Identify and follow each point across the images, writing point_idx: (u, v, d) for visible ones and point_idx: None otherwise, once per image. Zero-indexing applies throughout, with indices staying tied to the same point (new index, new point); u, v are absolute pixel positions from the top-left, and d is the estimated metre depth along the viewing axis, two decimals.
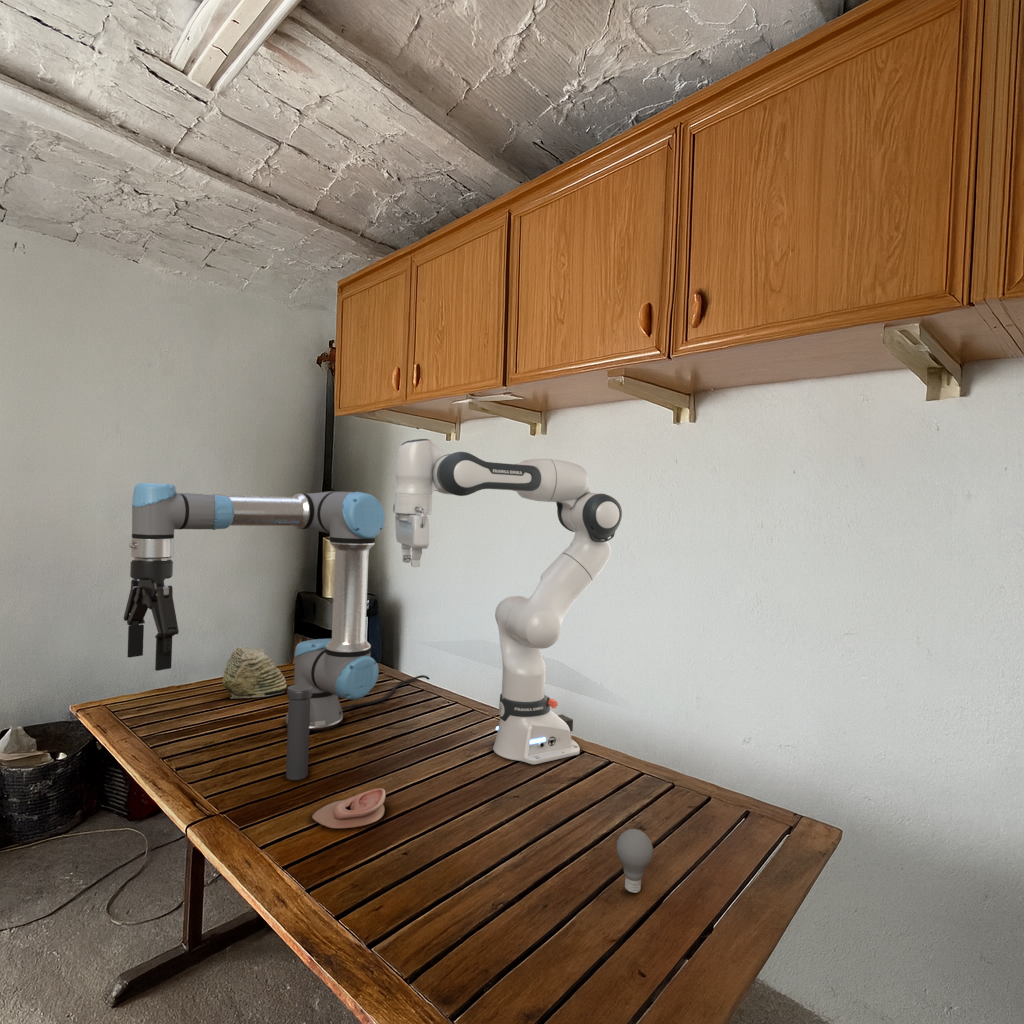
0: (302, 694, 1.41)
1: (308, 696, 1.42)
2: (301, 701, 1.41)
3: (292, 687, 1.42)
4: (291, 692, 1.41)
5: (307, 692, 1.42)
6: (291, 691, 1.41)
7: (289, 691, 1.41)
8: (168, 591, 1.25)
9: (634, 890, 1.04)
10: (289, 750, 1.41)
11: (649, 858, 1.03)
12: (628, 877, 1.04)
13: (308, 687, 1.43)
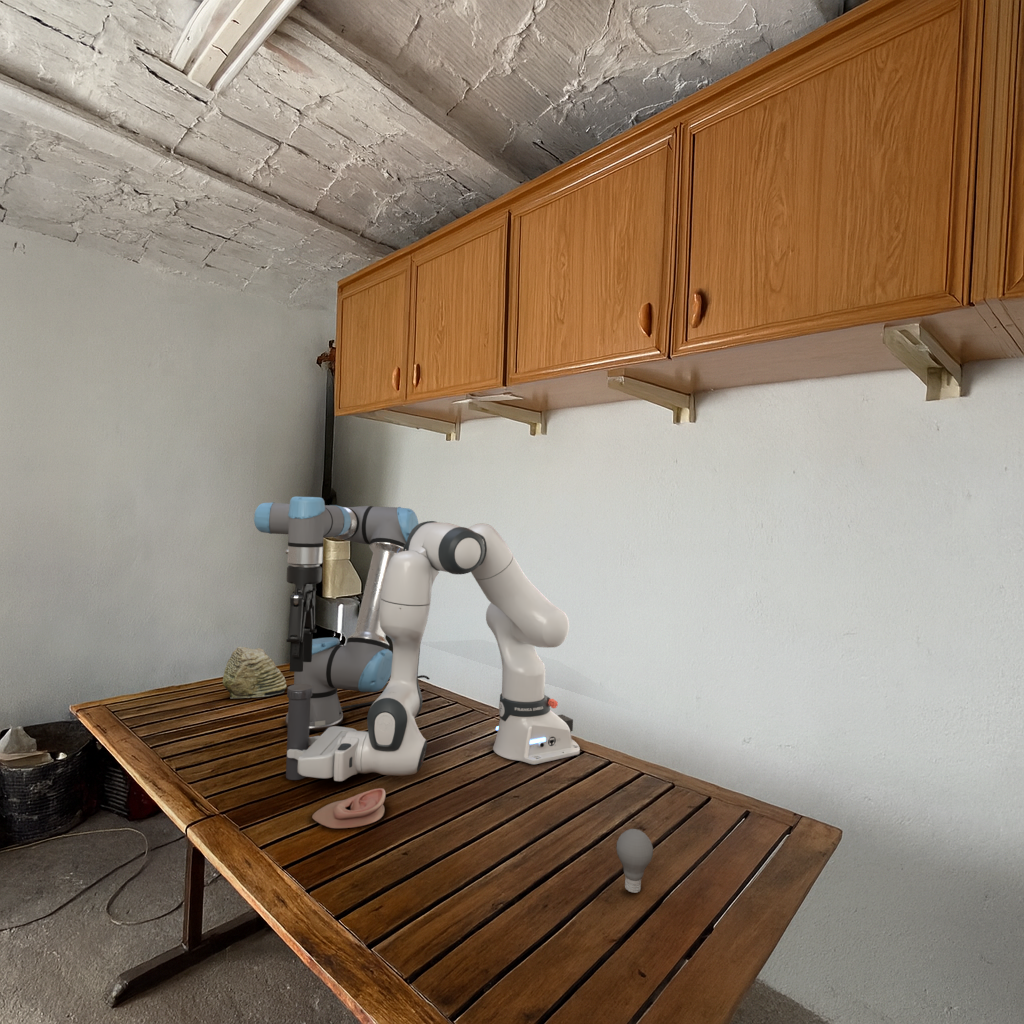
0: (302, 694, 1.41)
1: (308, 696, 1.42)
2: (301, 701, 1.41)
3: (292, 687, 1.42)
4: (291, 692, 1.41)
5: (307, 692, 1.42)
6: (291, 691, 1.41)
7: (289, 691, 1.41)
8: (298, 601, 1.36)
9: (634, 890, 1.04)
10: None
11: (649, 858, 1.03)
12: (628, 877, 1.04)
13: (308, 687, 1.43)
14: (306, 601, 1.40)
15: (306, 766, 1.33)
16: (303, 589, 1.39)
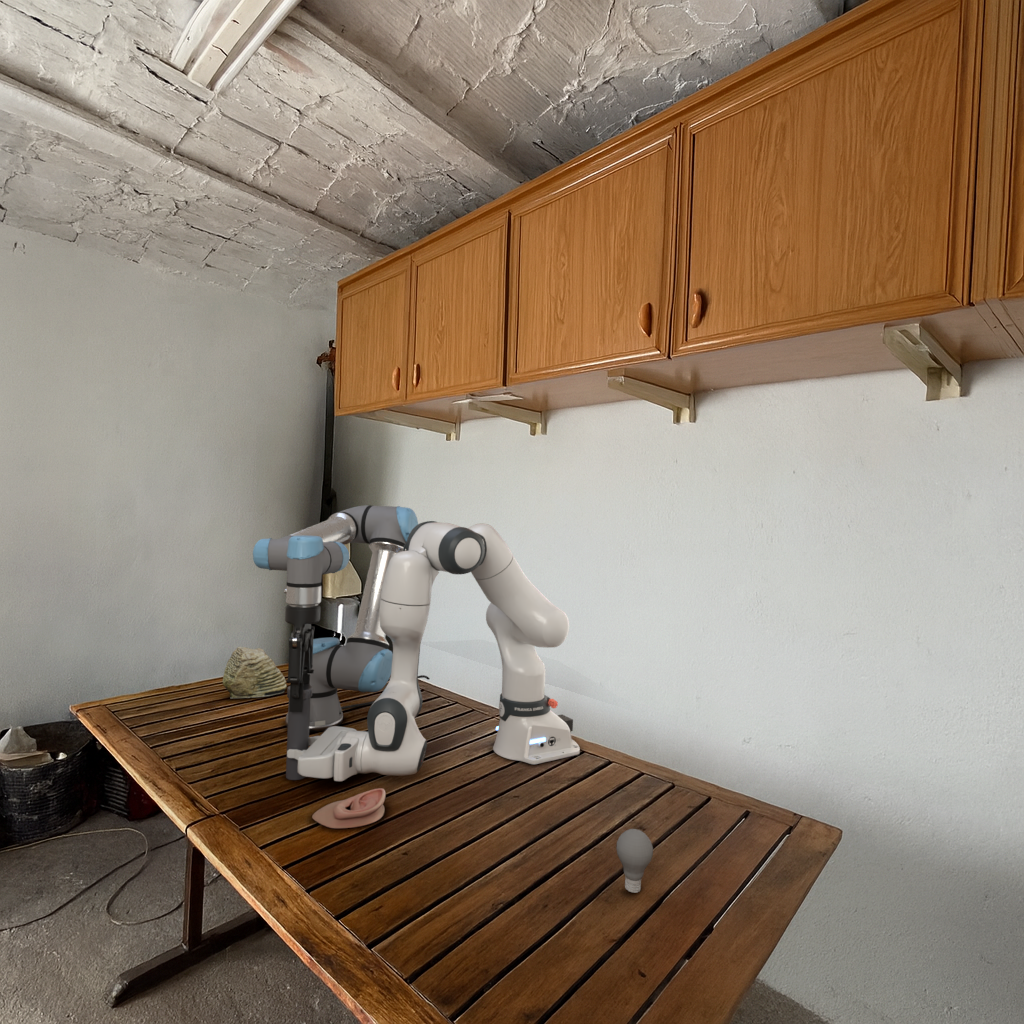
0: None
1: (308, 696, 1.42)
2: None
3: None
4: None
5: (307, 692, 1.42)
6: None
7: (289, 691, 1.41)
8: (296, 644, 1.36)
9: (634, 890, 1.04)
10: None
11: (649, 858, 1.03)
12: (628, 877, 1.04)
13: (308, 687, 1.43)
14: (305, 641, 1.40)
15: (306, 766, 1.33)
16: (301, 629, 1.39)
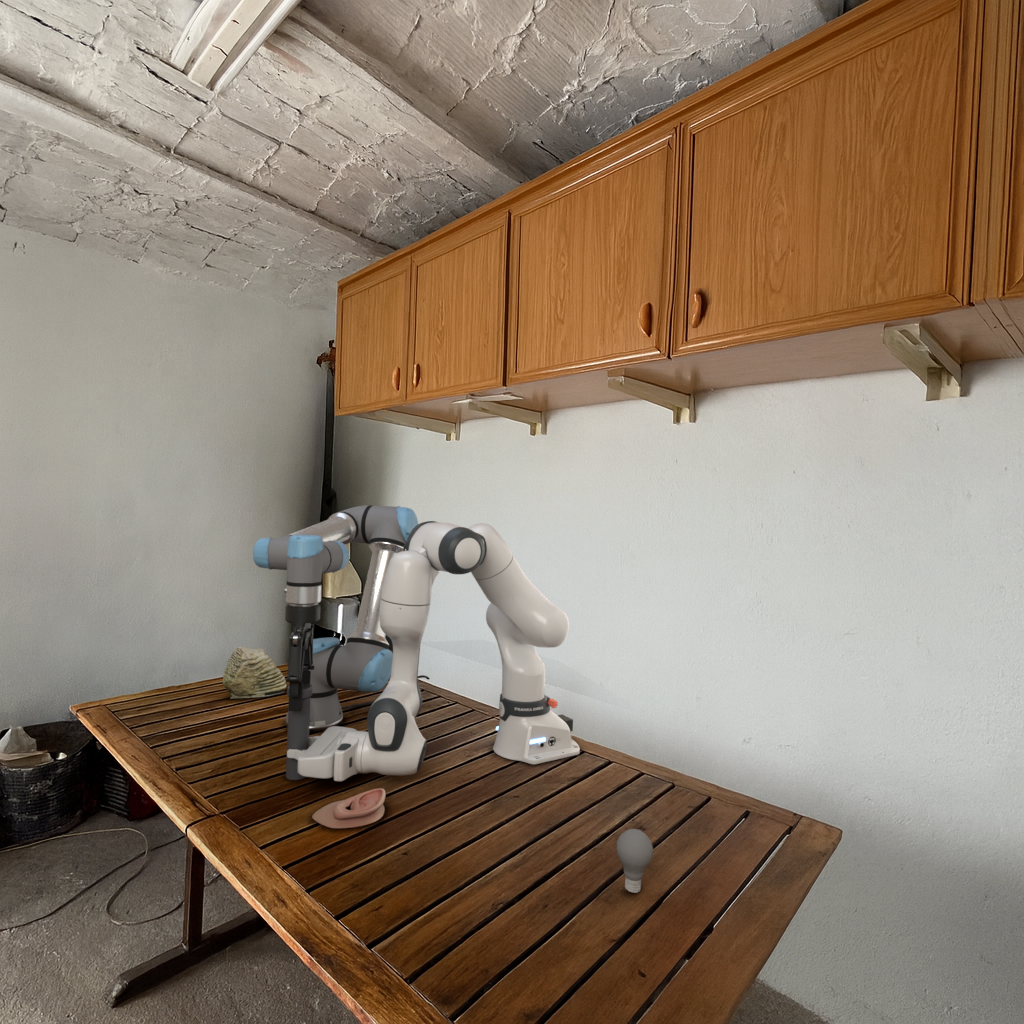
0: (311, 690, 1.43)
1: None
2: None
3: None
4: (304, 691, 1.41)
5: None
6: (304, 690, 1.41)
7: None
8: (297, 641, 1.36)
9: (634, 890, 1.04)
10: None
11: (649, 858, 1.03)
12: (628, 877, 1.04)
13: (307, 684, 1.45)
14: (305, 640, 1.40)
15: (306, 766, 1.33)
16: (302, 628, 1.39)
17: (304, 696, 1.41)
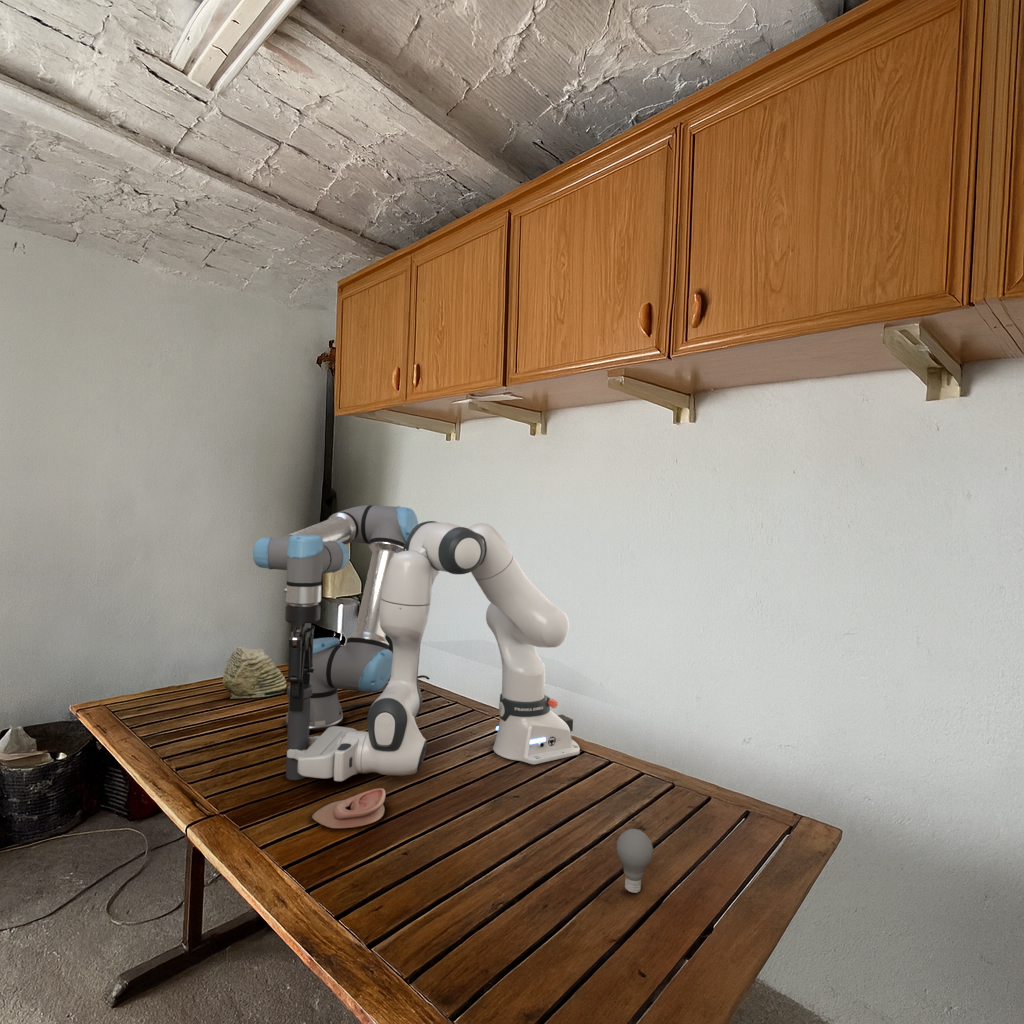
0: (311, 691, 1.43)
1: None
2: None
3: None
4: (304, 691, 1.41)
5: None
6: (304, 690, 1.41)
7: None
8: (296, 643, 1.36)
9: (634, 890, 1.04)
10: None
11: (649, 858, 1.03)
12: (628, 877, 1.04)
13: (307, 684, 1.45)
14: (305, 640, 1.40)
15: (306, 766, 1.33)
16: (302, 628, 1.39)
17: (304, 696, 1.41)
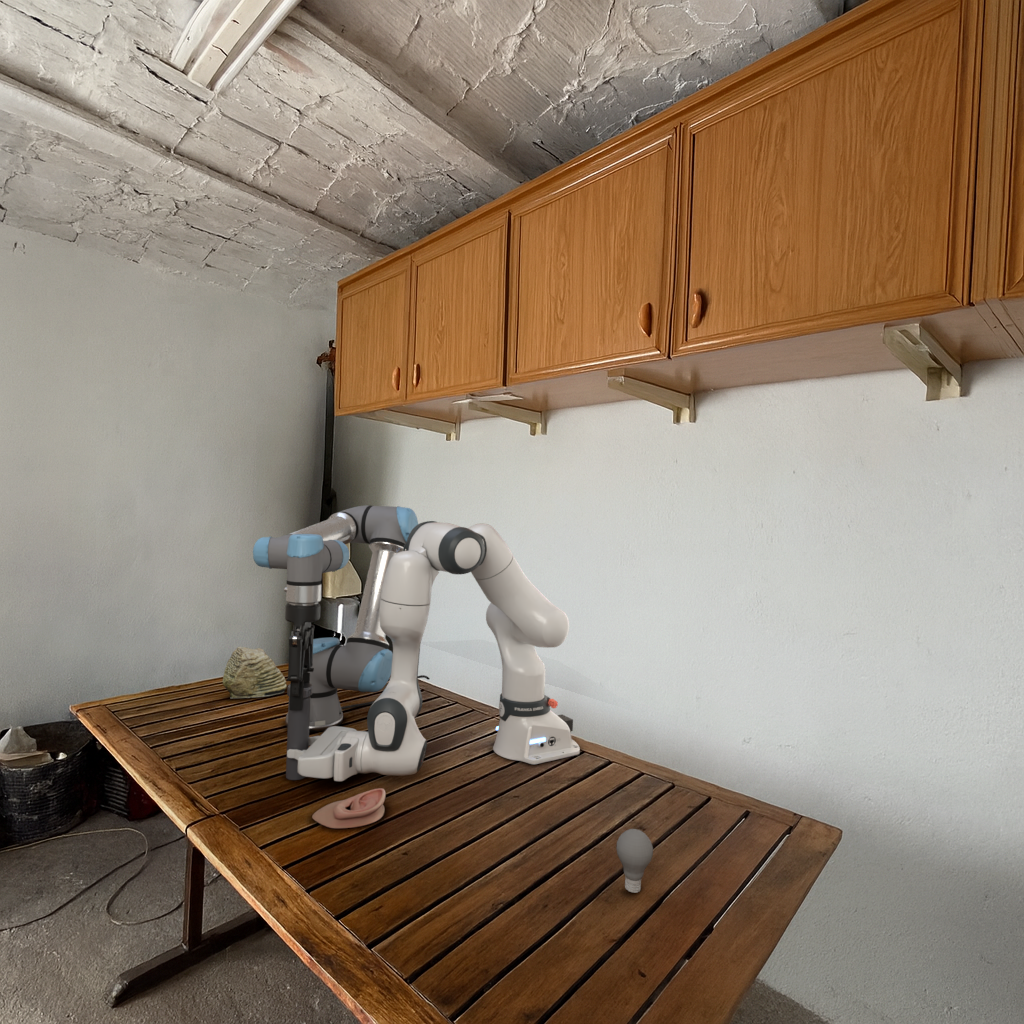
0: None
1: None
2: None
3: (304, 687, 1.42)
4: (311, 687, 1.43)
5: None
6: None
7: (311, 688, 1.43)
8: (296, 642, 1.36)
9: (634, 890, 1.04)
10: None
11: (649, 858, 1.03)
12: (628, 877, 1.04)
13: None
14: (305, 640, 1.40)
15: (306, 766, 1.33)
16: (302, 628, 1.39)
17: None
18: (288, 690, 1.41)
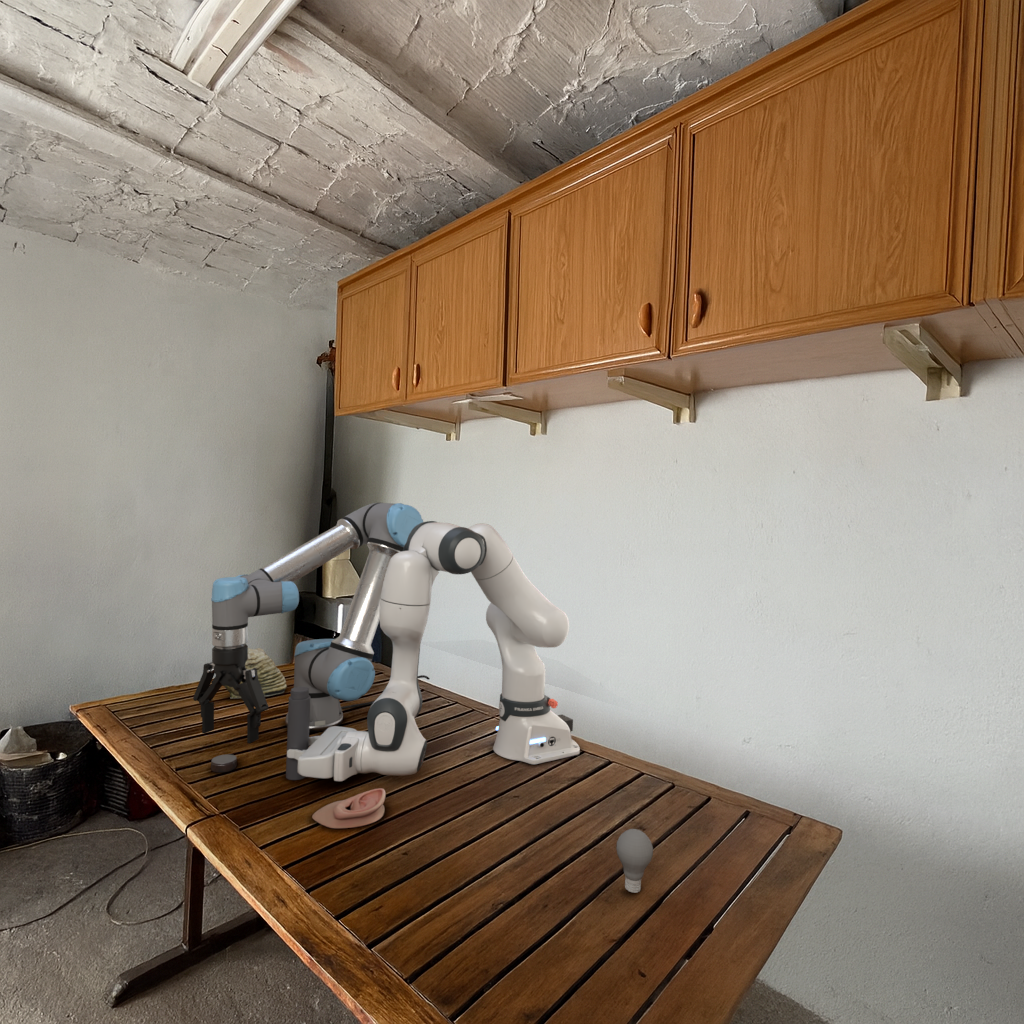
0: None
1: None
2: (301, 701, 1.41)
3: (231, 757, 1.46)
4: None
5: None
6: None
7: None
8: (254, 673, 1.44)
9: (634, 890, 1.04)
10: None
11: (649, 858, 1.03)
12: (628, 877, 1.04)
13: (215, 758, 1.45)
14: (243, 676, 1.46)
15: (306, 766, 1.33)
16: (245, 667, 1.45)
17: None
18: (221, 766, 1.43)
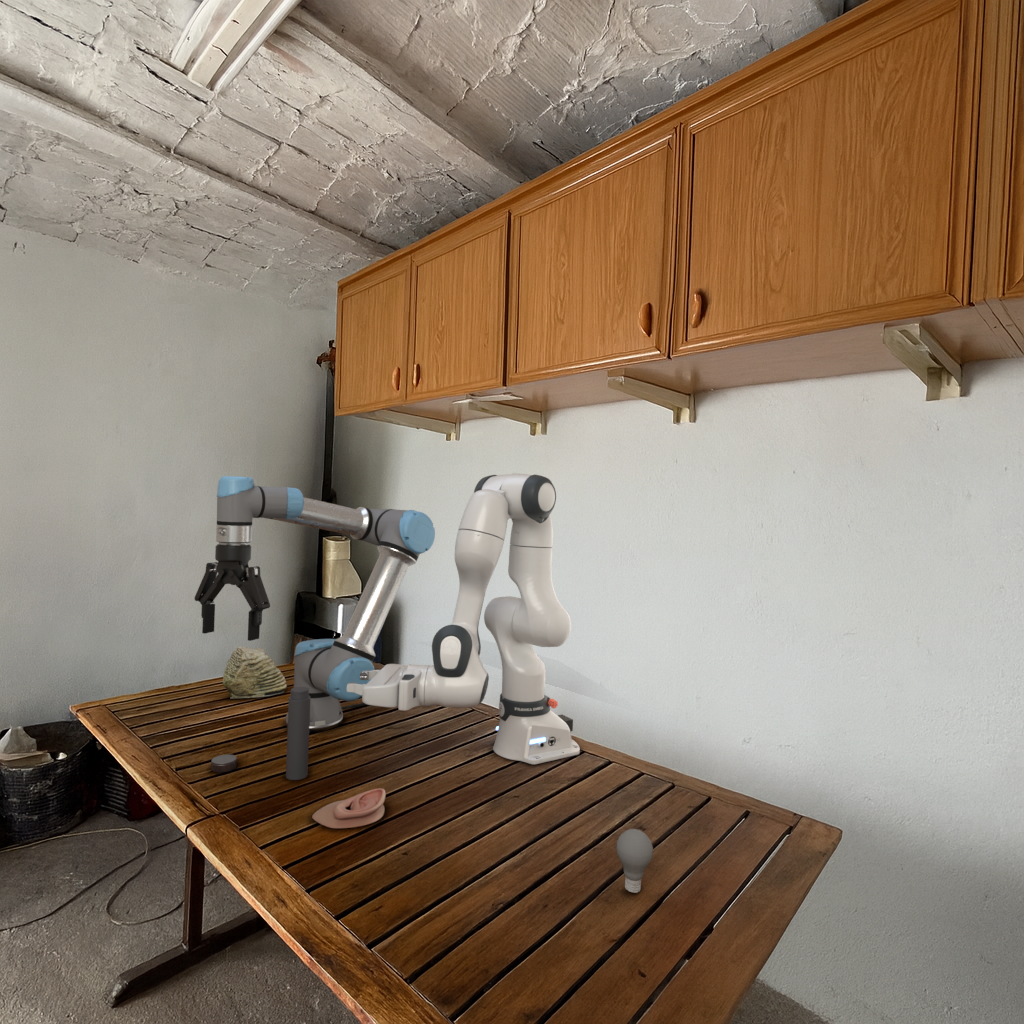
0: None
1: None
2: (301, 701, 1.41)
3: (231, 757, 1.46)
4: None
5: None
6: None
7: None
8: (257, 571, 1.43)
9: (634, 890, 1.04)
10: (289, 750, 1.41)
11: (649, 858, 1.03)
12: (628, 877, 1.04)
13: (215, 758, 1.45)
14: (246, 575, 1.45)
15: (372, 695, 1.32)
16: (248, 566, 1.44)
17: None
18: (221, 766, 1.43)
